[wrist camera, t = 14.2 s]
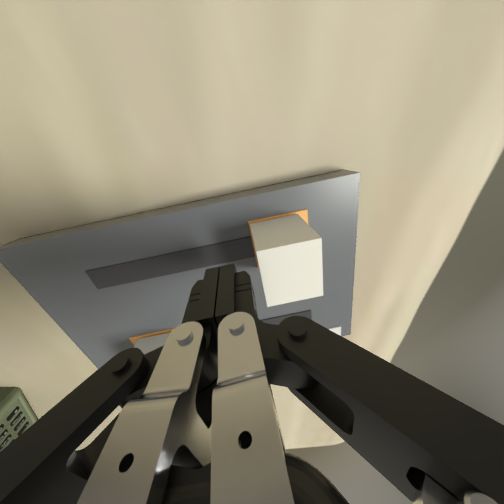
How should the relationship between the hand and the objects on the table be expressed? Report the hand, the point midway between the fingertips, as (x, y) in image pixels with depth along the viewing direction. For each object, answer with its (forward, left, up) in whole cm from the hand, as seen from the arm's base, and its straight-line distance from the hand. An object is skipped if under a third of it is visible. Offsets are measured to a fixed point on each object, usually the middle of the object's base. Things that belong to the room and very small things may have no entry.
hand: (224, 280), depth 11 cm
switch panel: (+4, -3, -6) cm, 8 cm away
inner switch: (0, +4, -4) cm, 5 cm away
